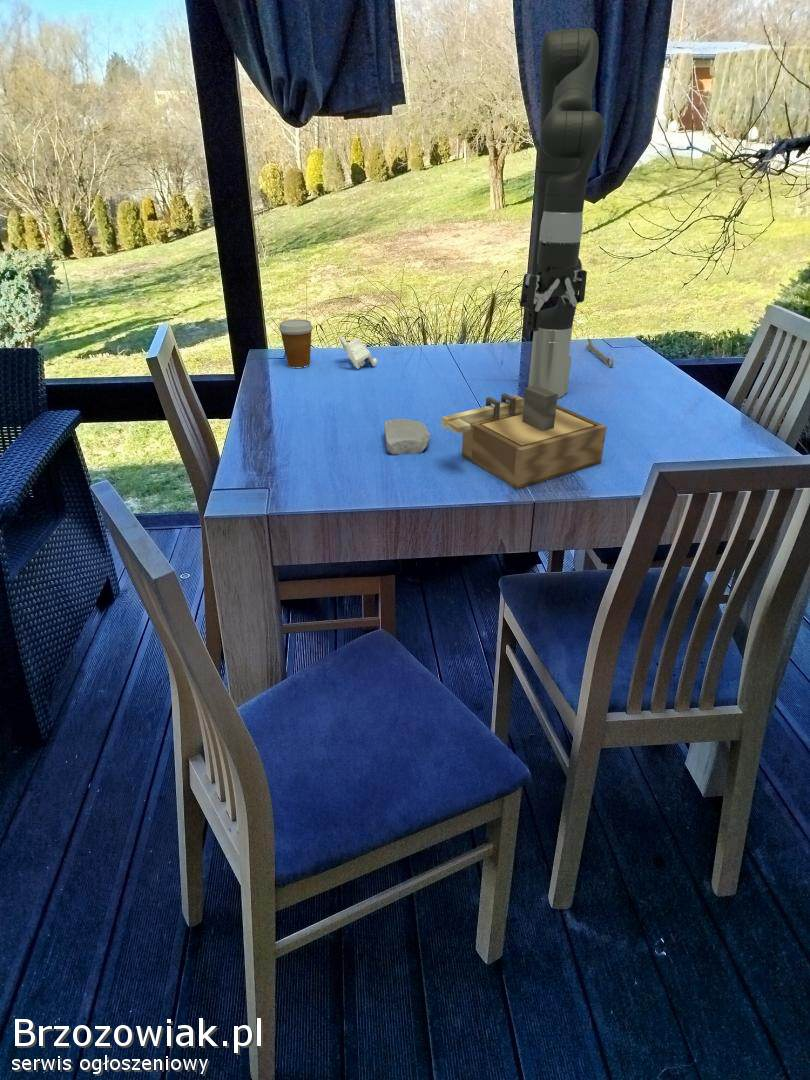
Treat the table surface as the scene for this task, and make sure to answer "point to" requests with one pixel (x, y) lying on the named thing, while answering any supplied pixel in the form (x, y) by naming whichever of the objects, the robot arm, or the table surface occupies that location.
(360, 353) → the mounting bracket
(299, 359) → the disposable coffee cup
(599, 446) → the wooden box
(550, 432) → the lid
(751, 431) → the table surface
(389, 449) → the stone block
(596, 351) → the combination wrench
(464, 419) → the yellow latch bar
